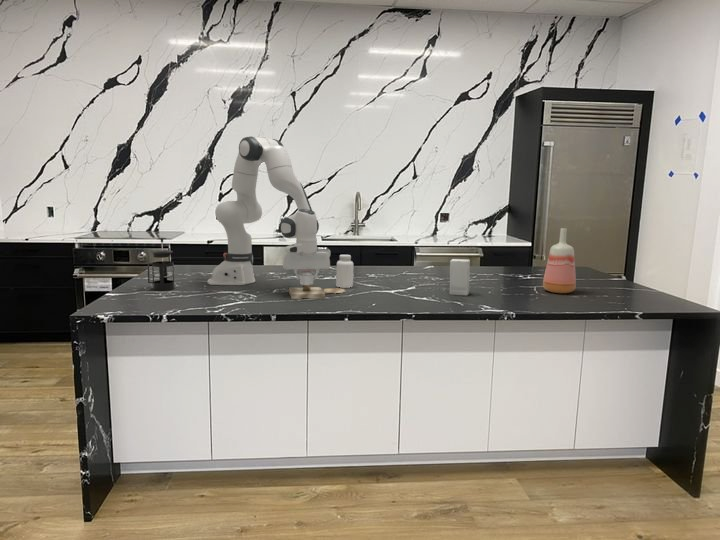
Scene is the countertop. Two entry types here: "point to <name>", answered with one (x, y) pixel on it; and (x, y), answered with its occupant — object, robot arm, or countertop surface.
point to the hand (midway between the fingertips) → (306, 279)
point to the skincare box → (459, 276)
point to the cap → (306, 277)
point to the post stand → (306, 292)
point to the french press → (162, 271)
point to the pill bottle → (344, 272)
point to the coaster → (333, 290)
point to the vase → (560, 267)
